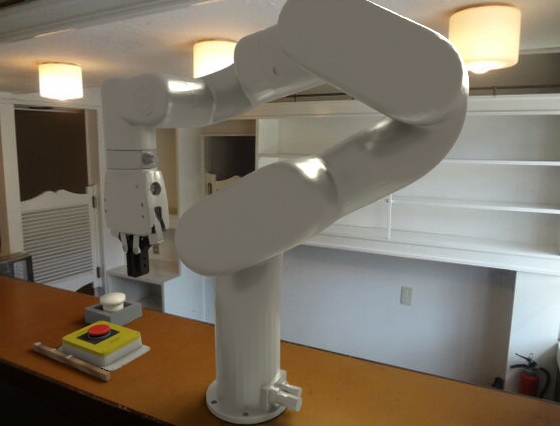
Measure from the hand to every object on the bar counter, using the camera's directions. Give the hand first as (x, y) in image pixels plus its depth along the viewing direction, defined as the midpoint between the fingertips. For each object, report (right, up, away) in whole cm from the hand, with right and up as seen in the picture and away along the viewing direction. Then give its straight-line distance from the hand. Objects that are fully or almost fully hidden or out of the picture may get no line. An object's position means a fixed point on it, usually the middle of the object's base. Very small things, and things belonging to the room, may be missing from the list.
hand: (138, 274), depth 72 cm
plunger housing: (-12, -13, +22) cm, 28 cm away
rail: (-13, -16, +4) cm, 21 cm away
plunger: (-12, -11, +22) cm, 27 cm away
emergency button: (-9, -16, +10) cm, 21 cm away
